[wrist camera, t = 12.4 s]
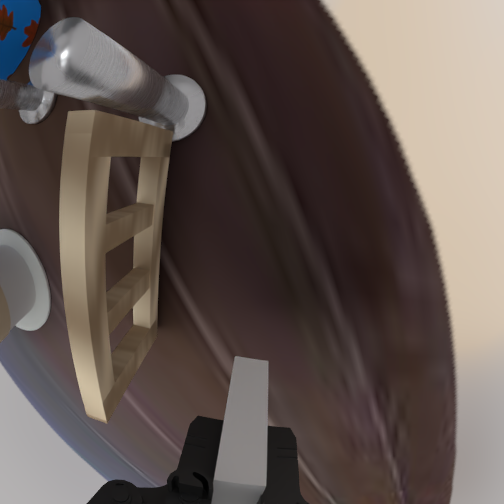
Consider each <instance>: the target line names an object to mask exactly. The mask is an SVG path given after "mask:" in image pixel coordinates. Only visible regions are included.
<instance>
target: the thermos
mask: <svg viewBox="0 0 504 504" xmlns="http://www.w3.org/2000/svg"><path fill="white" fill-rule="evenodd" d="M40 14H41V5H40V3H39V1H38V0H0V79H3V80H7V79H8V78H9V77H10V76H11V75H12V74H13V73H14V72H15V70H16V69H17V67H18V66H19V64H20V63H21V61H22V60H23V58H24V57H25V55H26V53H27V51H28V49H29V47H30V45H31V43H32V41H33V39H34V37H35V34H36V31H37V28H38V25H39V22H40Z"/></svg>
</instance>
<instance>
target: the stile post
mask: <svg viewBox="0 0 504 504" xmlns="http://www.w3.org/2000/svg"><path fill="white" fill-rule="evenodd" d="M56 99H57V94H56V93H51V92H47V91H42V90H39V89H37V88H36V87H35V86H34V85H33V84H32V83H31V81H30V82H29V83H28V84H23V83H18V82H13V81H8V80H3V79H0V108H6V109H16V110H19V113H20V116H21V118H22V120H23V121H24V122H26V123H29V124H38V123H40V122H42V121H44V120H45V119H46V118H47V117H48V116H49V114H50V113H51V111H52V109H53V108H54V105H55V102H56Z"/></svg>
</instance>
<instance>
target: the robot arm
mask: <svg viewBox="0 0 504 504" xmlns="http://www.w3.org/2000/svg"><path fill="white" fill-rule="evenodd" d="M297 458H298V457H297V443H296V437H295V435H294V434H293V432H292V430H291V429H290V428H284V427H273V426H268V361H264V360H257V359H250V358H244V357H238V356H235V359H234V365H233V371H232V376H231V382H230V388H229V394H228V400H227V405H226V411H225V417H224V420H218V419H212V418H207V417H202V416H197V417H196V418H195V419H194V421H193V422H192V423H191V424H190V426H189V429H188V433H187V437H186V440H185V444H184V447H183V450H182V454H181V457H180V461H179V464H178V468H177V470H176V471H174V472H173V473H171V474H170V476H169V477H168V479H167V485H165V486H162V487H156V488H137V487H136V486H135V485H133V484H132V483H130V482H128V481H125V480H112V481H108V482H107V483H106V484H104V485H103V486H102V487H101V488H100V489H99V490H98V492H97V493H96V494H95V495H94V496H93V497H92V498H91V500H90V501H89V502H88V503H87V504H309V503H307V502H306V501H305V500H304V499H303V497H302V495H301V493H300V487H299V471H298V460H297Z"/></svg>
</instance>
